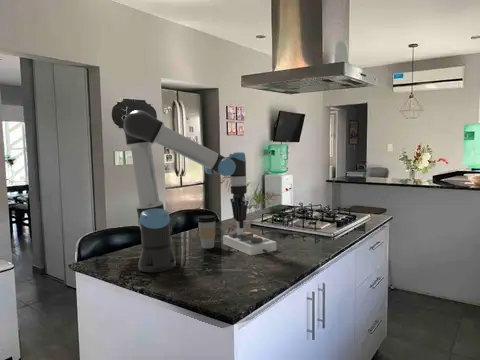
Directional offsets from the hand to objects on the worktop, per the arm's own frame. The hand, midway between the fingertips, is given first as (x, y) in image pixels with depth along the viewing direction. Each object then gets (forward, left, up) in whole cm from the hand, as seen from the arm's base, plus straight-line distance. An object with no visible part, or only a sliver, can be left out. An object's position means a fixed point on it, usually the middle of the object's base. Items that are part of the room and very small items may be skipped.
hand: (240, 234), depth 185 cm
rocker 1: (+2, +8, -1) cm, 8 cm away
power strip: (+4, -4, -7) cm, 9 cm away
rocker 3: (+2, -8, -1) cm, 8 cm away
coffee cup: (-12, +12, -7) cm, 18 cm away
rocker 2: (+2, 0, -1) cm, 3 cm away
